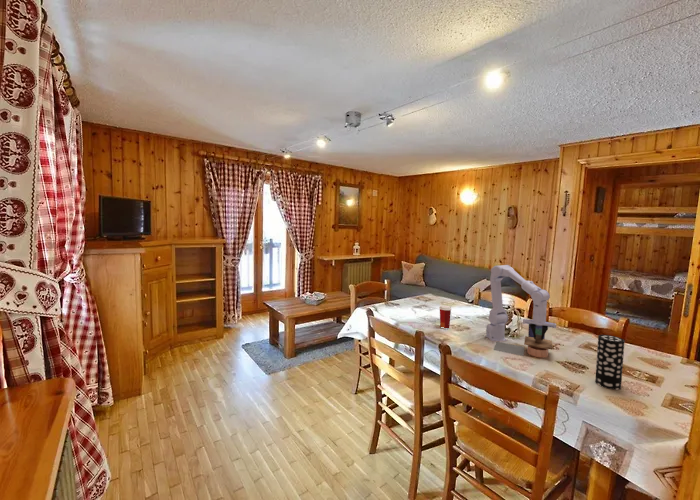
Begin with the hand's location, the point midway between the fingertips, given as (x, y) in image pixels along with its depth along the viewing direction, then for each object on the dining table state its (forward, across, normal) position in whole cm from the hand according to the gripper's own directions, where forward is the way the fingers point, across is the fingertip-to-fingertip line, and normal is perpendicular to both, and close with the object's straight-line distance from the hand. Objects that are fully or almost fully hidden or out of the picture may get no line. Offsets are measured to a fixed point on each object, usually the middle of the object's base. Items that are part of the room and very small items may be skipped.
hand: (538, 339), depth 157 cm
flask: (+8, -1, +26) cm, 27 cm away
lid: (+2, 0, 0) cm, 2 cm away
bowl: (+8, 0, 0) cm, 8 cm away
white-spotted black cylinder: (+8, +25, -19) cm, 33 cm away
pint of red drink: (+8, -52, +17) cm, 55 cm away
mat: (+8, -13, 0) cm, 15 cm away
